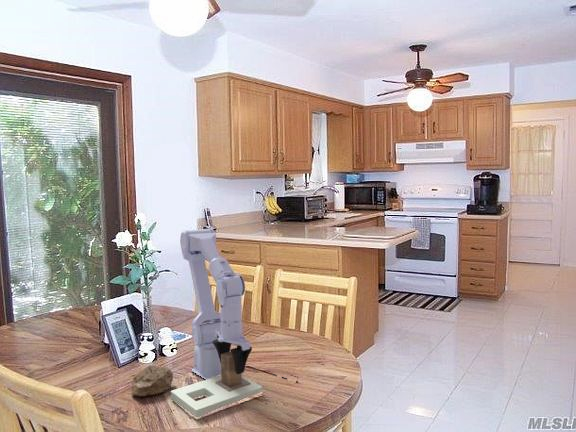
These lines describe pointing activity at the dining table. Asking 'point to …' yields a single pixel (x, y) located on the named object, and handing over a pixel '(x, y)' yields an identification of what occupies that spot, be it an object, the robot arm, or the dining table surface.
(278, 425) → the dining table surface
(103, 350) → the dining table surface
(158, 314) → the dining table surface
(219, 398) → the board
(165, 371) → the rock
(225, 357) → the block
